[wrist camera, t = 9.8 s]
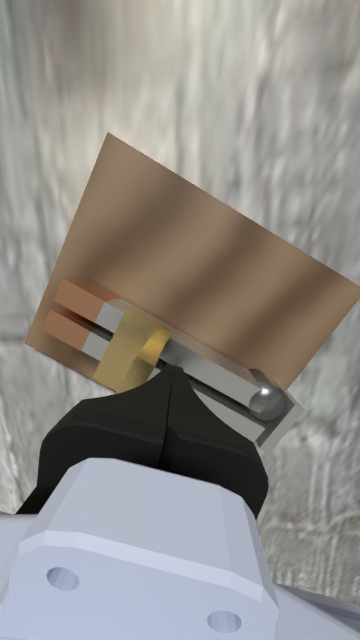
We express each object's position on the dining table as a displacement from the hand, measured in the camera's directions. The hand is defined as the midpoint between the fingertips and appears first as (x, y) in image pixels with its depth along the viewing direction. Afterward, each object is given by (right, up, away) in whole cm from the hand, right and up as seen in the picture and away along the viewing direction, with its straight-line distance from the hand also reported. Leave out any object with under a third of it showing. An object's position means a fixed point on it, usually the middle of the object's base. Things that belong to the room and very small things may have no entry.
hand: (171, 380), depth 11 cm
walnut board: (+1, +4, +5) cm, 6 cm away
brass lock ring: (-2, +2, +4) cm, 5 cm away
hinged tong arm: (0, +2, +4) cm, 5 cm away
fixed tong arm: (0, +1, +5) cm, 5 cm away
